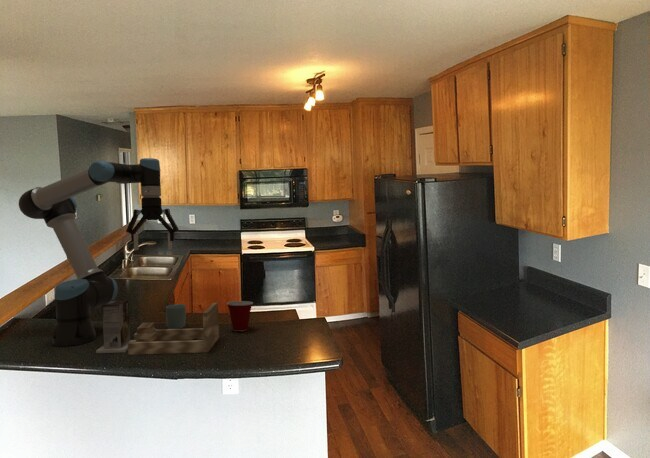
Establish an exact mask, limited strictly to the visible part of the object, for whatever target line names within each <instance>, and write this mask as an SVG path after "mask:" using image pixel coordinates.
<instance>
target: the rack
mask: <svg viewBox="0 0 650 458" xmlns="http://www.w3.org/2000/svg"><path fill="white" fill-rule="evenodd" d="M202 324H203V325H202V327H199V328H198V327H197V328H196V327H195V328H194V327H193V328H192V327H191V328H182V329H169V328H167V329H165V328H164V329H156V337H157V338H158V341H154V342H129V343H128V350H127V355H129V356H132V355H134V356H136V355H160V354H161V355H162V354H166V355H167V354H168V355H169V354H192V353H193V354H194V353H197V354H198V353H199V354H200V353H209V352H210V351H211V350H212V348H213V347H214V345H215V344H216V342H217V341H218V340H219V339H220V330H219V329H220V328H219V327H220V326H219V324H220V323H219V302H213V303H211V304H210V306H209V307H207V309H205V310H204V311H203V312H202ZM193 339H197V340H193Z"/></svg>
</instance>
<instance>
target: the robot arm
mask: <svg viewBox="0 0 650 458" xmlns="http://www.w3.org/2000/svg"><path fill="white" fill-rule="evenodd" d="M160 164H161V163H160V160H159V159H158V158H151V157H146V158H145V157H144V158H140V159H139V163H137V164H126V163H120V162H119V163H117V162H111V161H107V160H95V161H93V162H92V163H91V164H90V165H89V167H88V168H86V169H83V170H82V171H78V172H76V173H75V174H72V175H70V176H67V177H65V178H61V179H59V180H58V181H55V182H53V183H50V184H48V185H46V186H43V187H41V186H36V187H34V188H31V189H28V190H27V191H25V192H23V194H21V196H20V198H19V199H18V207H19V210H20V212H21V213H22V214H23V215H24V216H25V217H27V218H30V219H34V220H44V223H45V225H46V226H47V227H48V228H50V229H53V232H54V234H55V235H56V238H57V240H58V241H59V243H60V245H61V248H62V249H63V252H64V254H65V257H66V258H67V260H68V262H69V263H70V265H71V268H72V270H73V272H74V274H75V276H76V279H72V280H66V281H63V282H61V283H58V284H57V285H56V286H55V287H54V288H55V289H54V305H55V319H56V321H55V323H56V324H55V327H54V331H53V334H52V336H51V345H52V346H56V347H69V346H77V345H83V344H86V343H90V342H93V341H94V340H96V339H97V332H96V330H95V327H94V325H93V322H92V320H91V312H90V311H91V310H94V309H97V308H100V307H102V305H103V304H105V303H107V302H109V301H111V300H116V297H117V295H118V292H119V288H118V283H117V281H116V280H115V278H112V277H110V276H107V275H106V273H105V271H104V270H102V269H100V268H99V267H98V266H97V264H96V262H95V258H94V257H93V255H92V254H91V252H90V249H89V247H88V245H87V243H86V242H85V240H84V238H83V236H82V233H81V231H80V229H79V228H78V226H77V224H76V221H75V219H76V217H77V216H76V215H77V214H76V213H77V207H78V206H77V202H76V200H75V199H74V197H75V196H78V195H80V194H82V193H85V192H88V191H90V190H93V189H95V188H97V187H100V186H103V185H105V184H107V183H116V184H123V185H126V184H140V195H141V196H140V197H141V209H134V210H133V213H132V214H133V215H132V216H131V219H130V221H129V224H128V226H127V228H126V229H125V230H126V231H125V232H126V233H128V234H130V235H131V236H130V238H131V240H130V241H131V242H132V243H133V250H134V251H138V250H139V234H138V233H137V232H138V231H139V230H140V229H141V227H142V226H143V225H144V223H145V222H146V221H159V222H160V224H161V225H162V226H163V227H164V228H165V229H166V230H167V231H168V233H167V249H168V250H173V242H174V241H175V233H176V232H179V230H180V229H179V228H178V226H177V224H176V222H175V220H174V218H173V216H172V215H171V210H170V209H169V208H165V209H164V208H162V198H161V196H162V188H161V186H162V185H161V166H160ZM163 214H164V215H165V217H166V218H167V221H168V222H169V223H168V222H167V221H166V220H165V219H164V217H163V216H162V215H163ZM140 215H142V217H141V218H140V220H139V221H138V222H137V220H138V218H139V216H140ZM136 222H137V223H136Z"/></svg>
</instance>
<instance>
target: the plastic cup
mask: <svg viewBox="0 0 650 458" xmlns="http://www.w3.org/2000/svg"><path fill="white" fill-rule="evenodd" d="M253 304H254V302H253V301H247V300H245V301H244V300H236V301H235V300H234V301H228V302H226V305H227V307H228V311H229V316H230V321H231V326H232V329H234V330H245V329H247V328H248V329H249V323H250V318H251V317H250V316H251V310H252V306H253ZM248 329H247V330H248ZM234 330H233V331H234Z"/></svg>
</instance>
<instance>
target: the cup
mask: <svg viewBox="0 0 650 458" xmlns="http://www.w3.org/2000/svg"><path fill="white" fill-rule="evenodd" d="M186 308H187V307H186V304H183V303H179V304H178V303H174V304H170V305H167V306H165V317H166V318H165V320H166V326H167V329H180V328H182V329H184V328H185V326H186V321H187V320H186V319H187V311H186V310H187V309H186ZM183 327H184V328H183Z"/></svg>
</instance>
